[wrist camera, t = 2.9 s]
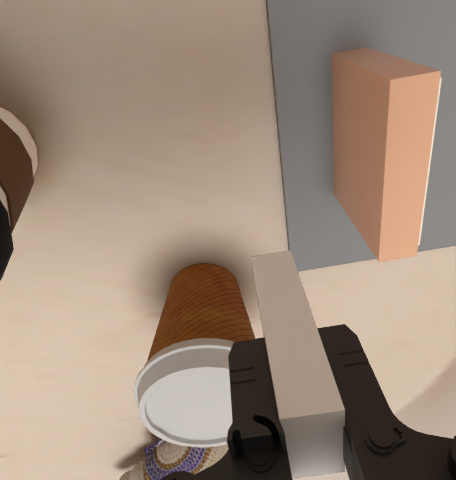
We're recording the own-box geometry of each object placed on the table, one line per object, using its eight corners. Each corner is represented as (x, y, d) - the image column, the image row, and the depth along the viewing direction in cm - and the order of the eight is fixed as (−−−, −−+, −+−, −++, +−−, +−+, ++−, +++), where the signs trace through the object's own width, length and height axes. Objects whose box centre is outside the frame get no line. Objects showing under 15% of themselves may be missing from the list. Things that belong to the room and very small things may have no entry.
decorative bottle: (263, 362, 41) (273, 421, 35) (299, 395, 45) (314, 453, 39) (94, 453, 48) (80, 514, 43) (137, 475, 52) (129, 534, 46)
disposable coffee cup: (276, 275, 35) (308, 391, 24) (221, 340, 39) (228, 463, 29) (183, 229, 31) (175, 340, 21) (133, 306, 36) (106, 429, 25)
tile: (331, 53, 24) (390, 79, 17) (371, 46, 24) (448, 69, 17) (333, 194, 30) (378, 261, 22) (365, 188, 30) (422, 254, 22)
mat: (259, -74, 21) (260, -76, 21) (591, -139, 21) (601, -143, 20) (290, 268, 34) (291, 272, 34) (495, 234, 34) (499, 238, 33)
